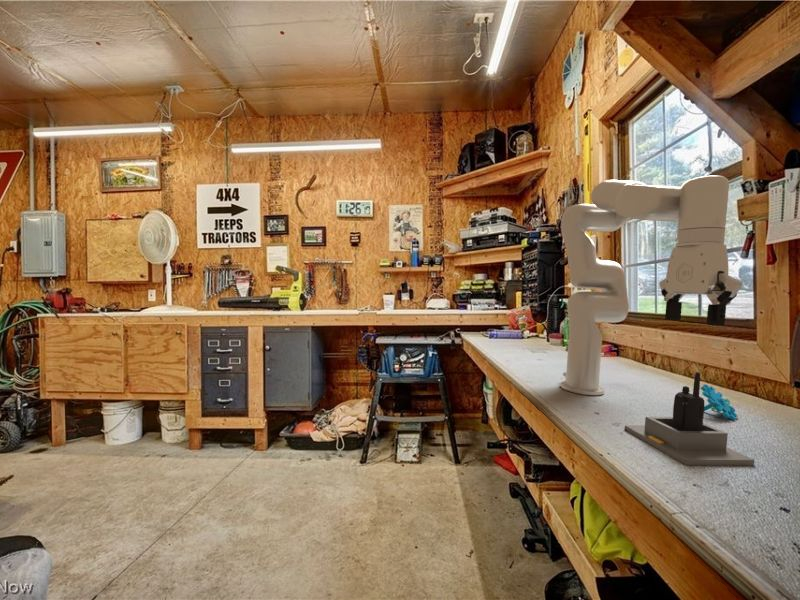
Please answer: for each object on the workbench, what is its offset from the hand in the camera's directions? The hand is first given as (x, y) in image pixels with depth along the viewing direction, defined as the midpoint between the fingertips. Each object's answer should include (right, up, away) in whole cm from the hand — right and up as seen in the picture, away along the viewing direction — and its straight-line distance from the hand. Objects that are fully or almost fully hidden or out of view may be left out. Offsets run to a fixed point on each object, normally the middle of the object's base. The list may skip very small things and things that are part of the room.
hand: (692, 322), depth 73 cm
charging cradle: (-1, -26, +1) cm, 26 cm away
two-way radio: (-1, -25, +1) cm, 25 cm away
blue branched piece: (+25, -27, +22) cm, 42 cm away
